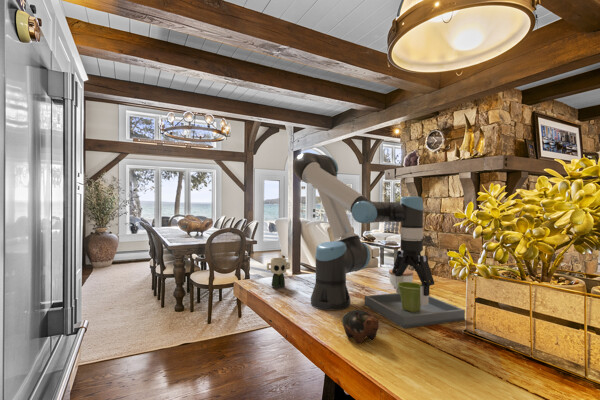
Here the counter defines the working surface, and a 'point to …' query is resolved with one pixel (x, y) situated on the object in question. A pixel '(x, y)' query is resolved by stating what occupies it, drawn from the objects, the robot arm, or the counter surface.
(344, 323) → the decorative turtle
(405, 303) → the plant pot
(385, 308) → the walled tray
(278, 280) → the character mug
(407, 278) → the lidded jar
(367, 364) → the counter surface
